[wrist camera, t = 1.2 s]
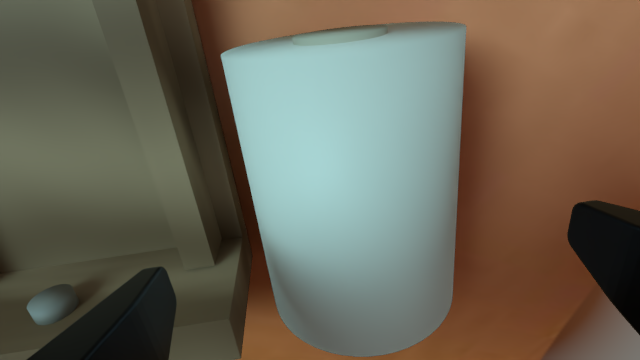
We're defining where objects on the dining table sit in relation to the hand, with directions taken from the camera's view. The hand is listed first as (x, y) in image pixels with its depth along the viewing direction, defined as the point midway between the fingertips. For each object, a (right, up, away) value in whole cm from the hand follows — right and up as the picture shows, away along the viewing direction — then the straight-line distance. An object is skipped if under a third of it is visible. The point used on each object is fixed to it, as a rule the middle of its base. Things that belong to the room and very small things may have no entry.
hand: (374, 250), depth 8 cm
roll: (-1, +3, +6) cm, 7 cm away
